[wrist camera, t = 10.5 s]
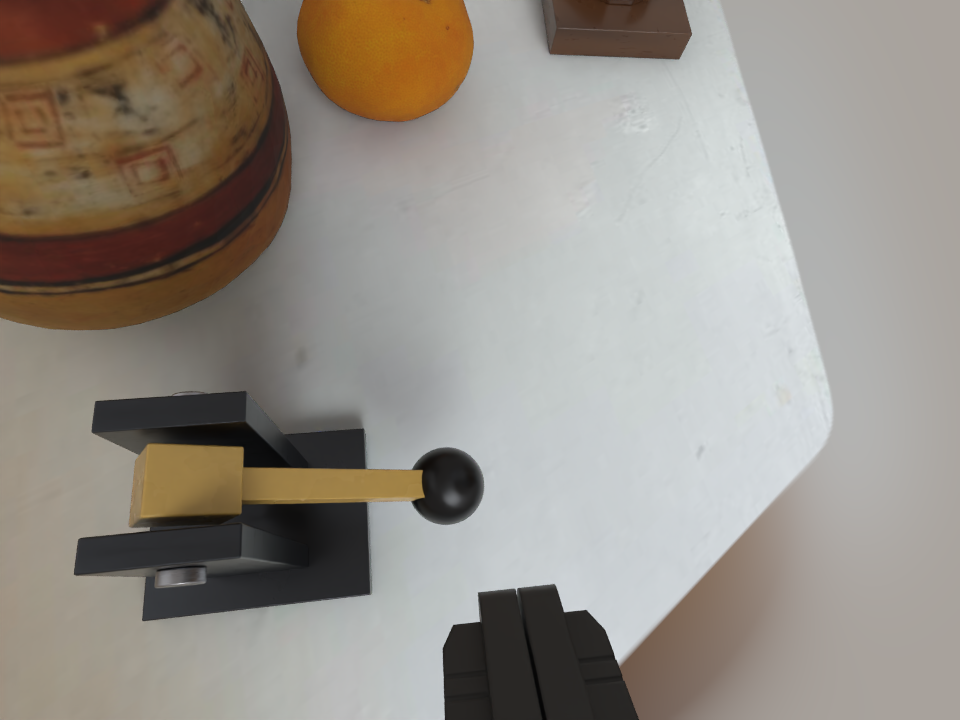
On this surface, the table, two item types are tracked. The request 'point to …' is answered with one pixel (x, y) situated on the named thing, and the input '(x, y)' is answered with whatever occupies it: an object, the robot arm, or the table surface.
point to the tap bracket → (247, 537)
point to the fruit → (386, 53)
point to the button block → (617, 28)
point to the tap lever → (290, 485)
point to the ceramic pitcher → (133, 157)
